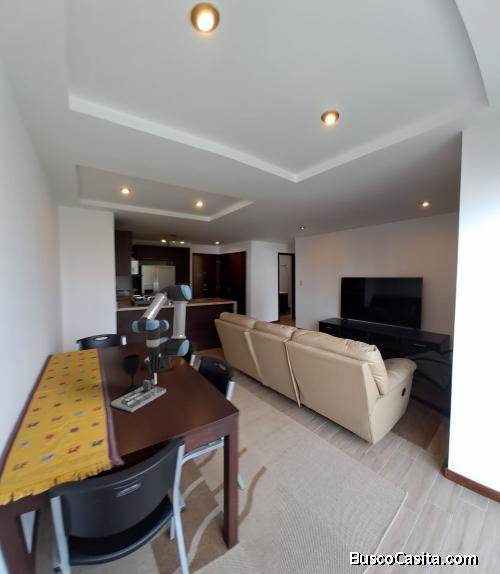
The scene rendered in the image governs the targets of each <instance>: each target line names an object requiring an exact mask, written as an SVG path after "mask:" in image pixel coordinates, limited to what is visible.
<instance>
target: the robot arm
mask: <svg viewBox="0 0 500 574" xmlns="http://www.w3.org/2000/svg"><path fill="white" fill-rule="evenodd" d="M191 298H192V291H191V288H190V286H188V285H187V284H168V285H166V286H163V287H162V288H160V289H158V292H157V293H156V294H155V295H154V299H153V301H151V303H150V304H149V306H148V308H147V309H146V310H145V312H144V313H143V315H141V317H140V319H139V320H135V321H133V322H132V323H131V329H132V331H133V332H134V333H145V334H146V335H145V337H146V339H145V340H146V341H145V342H146V353H147V356H146V358H145V359H143V362H144V365H145V368H146V372H147V374H148V375H150V380H151V385H157V383H158V379H157V378H158V373H163V372H166V371H167V372H168V371H169V370H171V369H173V368H172V367H173V365H172V364H173V363H172V362H171V361H172V360H171V359H170V356H174V357H175V356H176V357H181V356H183V357H184V356H186V354H187V353H188V351H189V347H190V341H189V340H188V339H187V336H186V335H185V334H186V333H185V331H186V315H187V314H186V310H187V309H186V308H187V304H188V303H189V300H191ZM168 301H172V303H173V305H174V308H173V309H174V310H173V324H172V327H173V328H172V336H171V337H170V338H169V337H167V336H166V337H160V335H161V334H162V333H164V332H166V331H168V329H169V328H170V324H169V321H168V320H165V319H161V320H158V319H156V316H157V315H158V314H159V312H160V311H161V309H162V308H163V305H164V304H166V303H167V302H168Z"/></svg>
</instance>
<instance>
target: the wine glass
mask: <svg viewBox="0 0 500 574" xmlns="http://www.w3.org/2000/svg"><path fill="white" fill-rule="evenodd" d="M141 366H142V360H141V357H140V355H139V354H128V355H125V356H124V357H123V361H122V369H123V371H124V372H125V373H126V374H127V375H129V376H130V378H131V383H130V384H129V385H126V386H124V388H123V391H125V392H127V393H131V392H133V391H135V390H137V389H139V388H141V387H143V384H140V383H134V377H135V375H136V374H137V373H138V372H139V371H140V370H141Z"/></svg>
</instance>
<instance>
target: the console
mask: <svg viewBox="0 0 500 574" xmlns="http://www.w3.org/2000/svg"><path fill="white" fill-rule="evenodd" d="M166 393H167V388H164V387H159V386H155V385H153V384H151V389H150V390H149V391H147V392H144V389H143V386H142V387H141V388H139V389H137V390H135V391H130V392H128V393H127V394H124V395H123V396H121V397H118V398H117V399H115V400H113V401H110V405H111V407H114V408H117V409H121V410H123V411H127V412H130V413H134V411H136V410H138V409H139V408H142V407H143V406H145V405H147V404H149V403H151V401H153V400H155V399H157V398H159V397H160V396H162V395H164V394H166Z"/></svg>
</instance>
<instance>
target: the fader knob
mask: <svg viewBox="0 0 500 574" xmlns="http://www.w3.org/2000/svg"><path fill="white" fill-rule="evenodd" d="M151 385H152V380H147V379H145V380H143V381H142V387H143V389H144V392H147V391H149V390H150V389H151Z"/></svg>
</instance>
